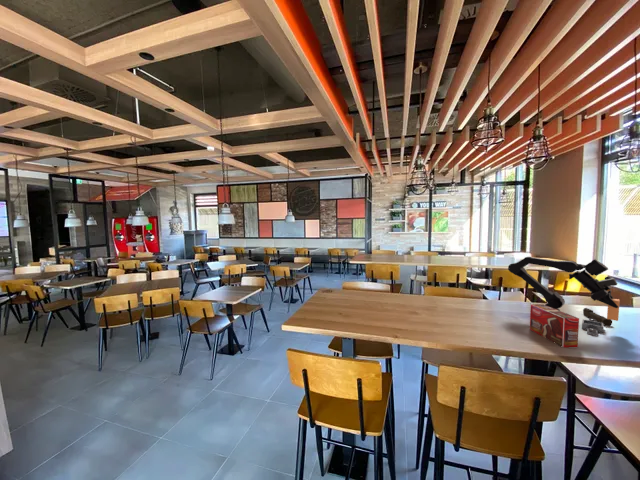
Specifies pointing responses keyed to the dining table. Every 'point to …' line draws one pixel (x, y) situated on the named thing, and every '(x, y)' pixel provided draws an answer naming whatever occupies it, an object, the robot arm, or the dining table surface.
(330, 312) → the dining table surface
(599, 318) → the hand tool
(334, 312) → the dining table surface
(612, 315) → the orange rectangular block
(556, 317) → the ice cream box
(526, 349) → the dining table surface
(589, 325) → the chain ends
